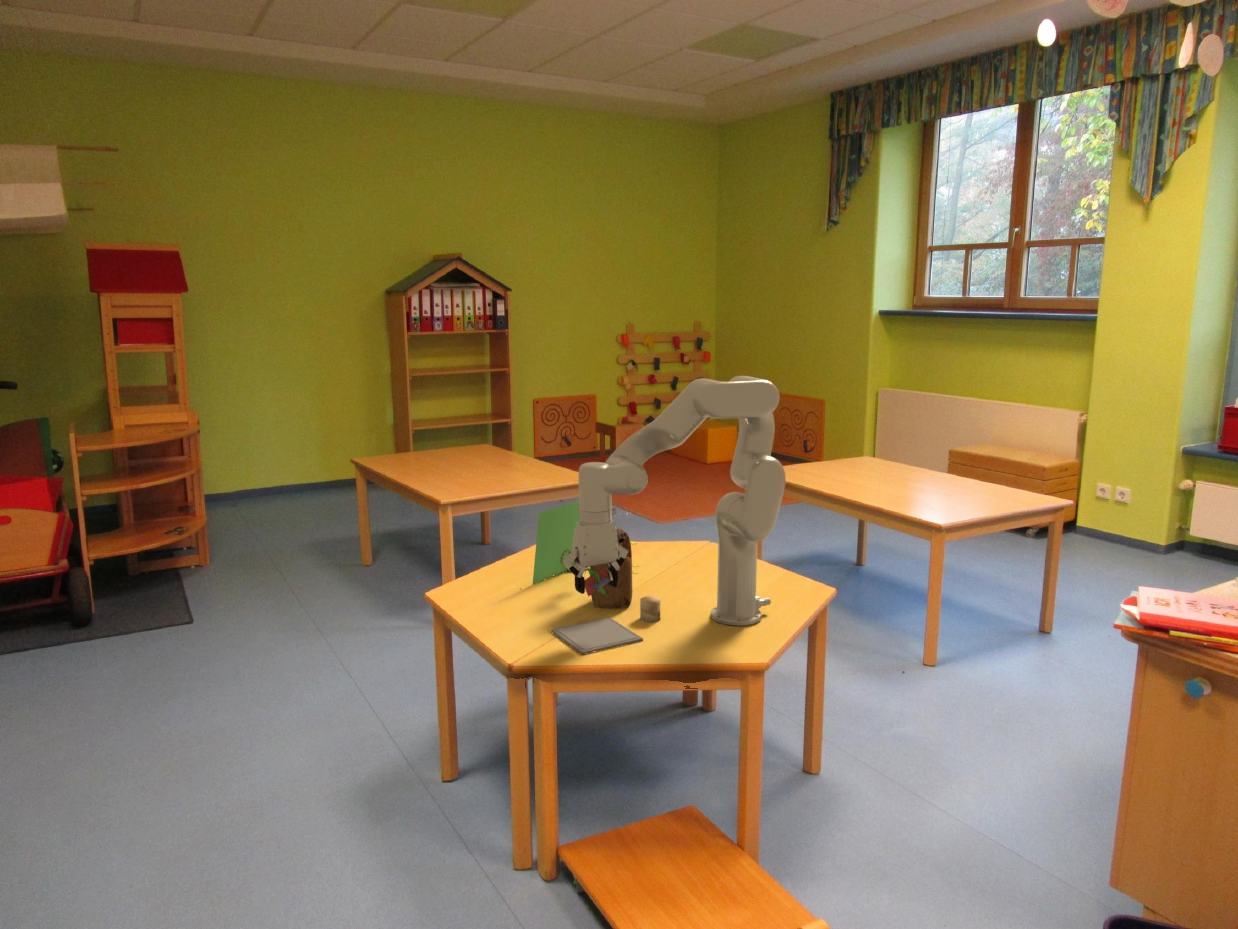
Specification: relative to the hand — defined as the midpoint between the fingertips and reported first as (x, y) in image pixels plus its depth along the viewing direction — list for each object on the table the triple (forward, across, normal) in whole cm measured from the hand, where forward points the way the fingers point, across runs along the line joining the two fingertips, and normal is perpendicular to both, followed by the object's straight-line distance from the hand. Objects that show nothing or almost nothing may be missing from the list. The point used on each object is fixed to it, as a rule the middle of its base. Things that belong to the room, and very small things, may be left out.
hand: (596, 588), depth 206 cm
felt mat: (+12, 0, 0) cm, 12 cm away
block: (+12, -14, -17) cm, 25 cm away
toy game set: (+12, -17, -35) cm, 41 cm away
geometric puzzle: (+2, 0, 0) cm, 2 cm away
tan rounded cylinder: (+12, -17, -3) cm, 21 cm away
